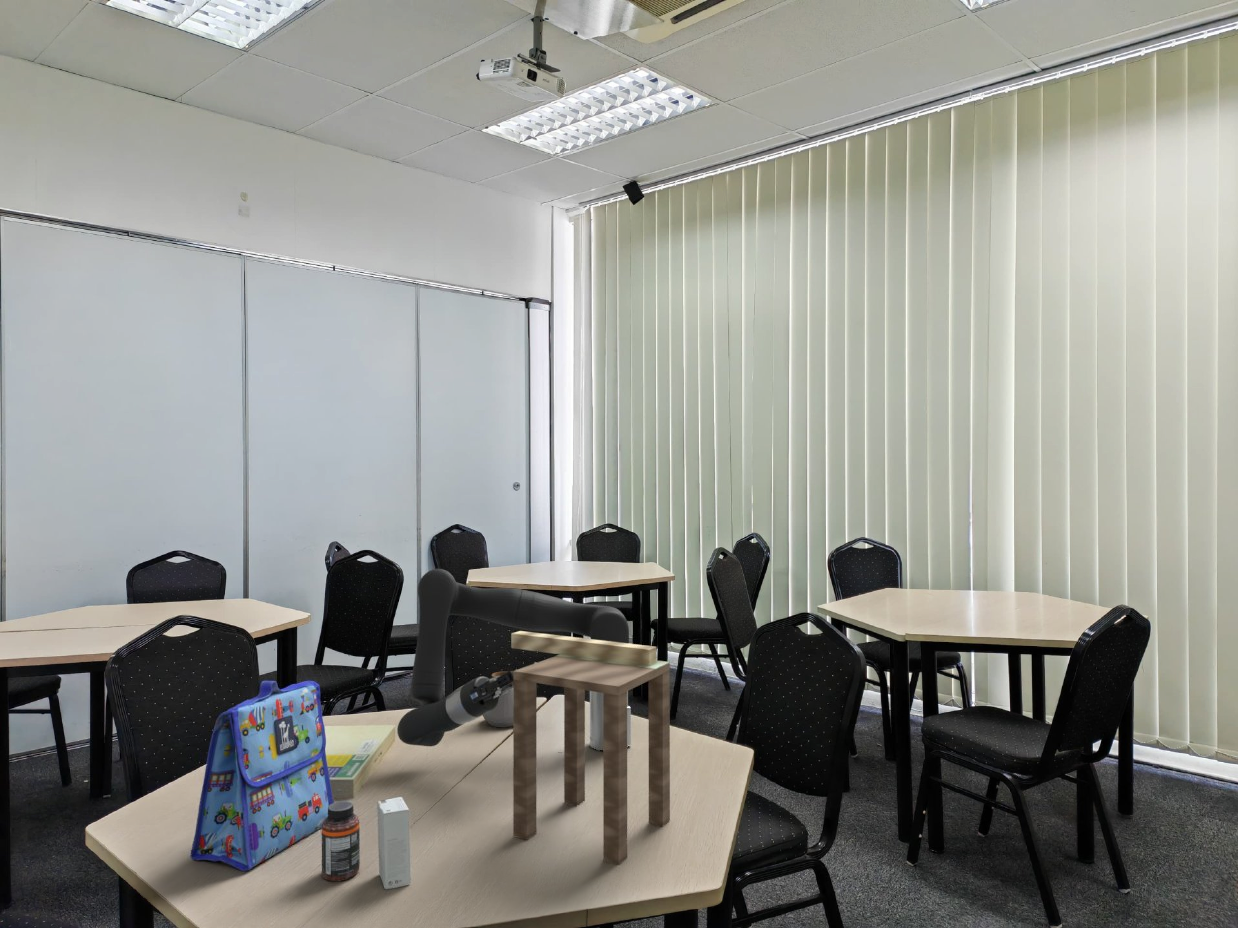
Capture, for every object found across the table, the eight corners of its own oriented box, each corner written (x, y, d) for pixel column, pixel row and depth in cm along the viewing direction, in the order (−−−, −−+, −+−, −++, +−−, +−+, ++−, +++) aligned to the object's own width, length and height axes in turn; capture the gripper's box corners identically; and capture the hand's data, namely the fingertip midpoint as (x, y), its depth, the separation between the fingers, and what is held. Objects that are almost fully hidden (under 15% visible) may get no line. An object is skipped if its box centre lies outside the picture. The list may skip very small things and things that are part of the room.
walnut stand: (513, 836, 146) (513, 670, 147) (572, 797, 164) (572, 649, 164) (618, 864, 136) (618, 686, 136) (669, 820, 153) (669, 661, 153)
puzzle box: (397, 742, 199) (299, 743, 199) (397, 724, 199) (299, 724, 199) (352, 802, 163) (233, 802, 163) (352, 779, 163) (233, 780, 163)
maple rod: (511, 647, 166) (511, 633, 166) (520, 645, 169) (520, 630, 169) (649, 665, 151) (649, 649, 151) (656, 662, 153) (656, 646, 153)
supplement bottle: (327, 865, 135) (327, 798, 136) (363, 864, 136) (363, 796, 136) (316, 883, 129) (317, 812, 130) (354, 881, 130) (355, 811, 130)
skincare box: (411, 884, 129) (411, 808, 129) (383, 890, 127) (383, 814, 127) (404, 867, 135) (404, 795, 135) (376, 873, 133) (376, 799, 133)
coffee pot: (481, 730, 207) (481, 672, 207) (482, 717, 218) (482, 661, 218) (564, 726, 210) (564, 669, 210) (560, 713, 222) (560, 659, 222)
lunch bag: (249, 873, 133) (250, 698, 133) (187, 860, 137) (189, 691, 138) (338, 820, 153) (339, 669, 153) (281, 810, 158) (282, 663, 158)
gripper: (443, 692, 167) (497, 660, 161) (485, 676, 180) (537, 647, 173) (457, 726, 166) (512, 695, 159) (499, 708, 178) (552, 679, 171)
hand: (525, 670), depth 166 cm, fingers open, 8 cm apart
